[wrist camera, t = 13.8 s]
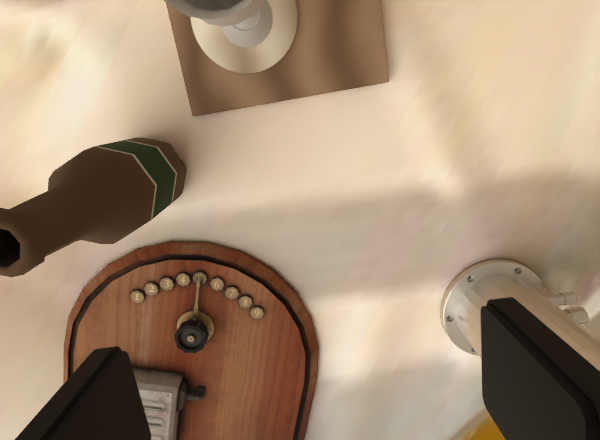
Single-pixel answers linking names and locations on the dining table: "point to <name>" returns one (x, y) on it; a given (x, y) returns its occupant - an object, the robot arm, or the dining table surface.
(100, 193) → the beer bottle
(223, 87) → the walnut board
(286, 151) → the dining table surface
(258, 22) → the chalice
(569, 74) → the dining table surface
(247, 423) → the wooden control board
